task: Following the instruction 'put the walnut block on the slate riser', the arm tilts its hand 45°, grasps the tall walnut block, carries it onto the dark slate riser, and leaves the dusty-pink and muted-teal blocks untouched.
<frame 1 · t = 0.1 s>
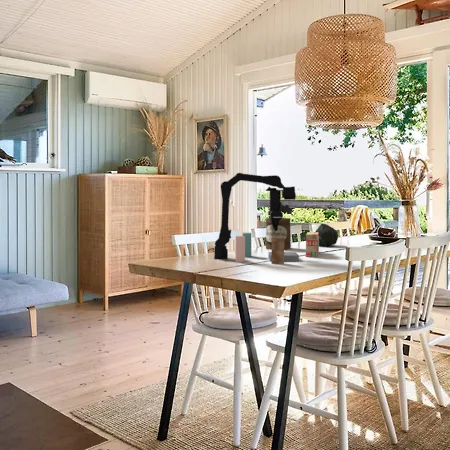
hand: (275, 230, 282), 15 cm above the table, tool pointing down, fingers open, 9 cm apart
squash: (325, 246, 341), on the table
muted teal block: (246, 256, 291), on the table
slate riser: (283, 259, 278), on the table
wooden container: (278, 248, 328), on the table
walnut block: (277, 263, 264), on the table
dusty pink block: (240, 261, 272), on the table
stack of blocks: (312, 255, 298), on the table
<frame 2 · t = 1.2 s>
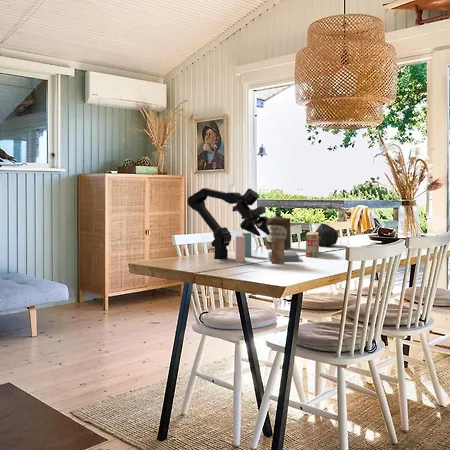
hand: (264, 235, 268), 13 cm above the table, tool tilted 45°, fingers open, 9 cm apart
nothing on the table moved.
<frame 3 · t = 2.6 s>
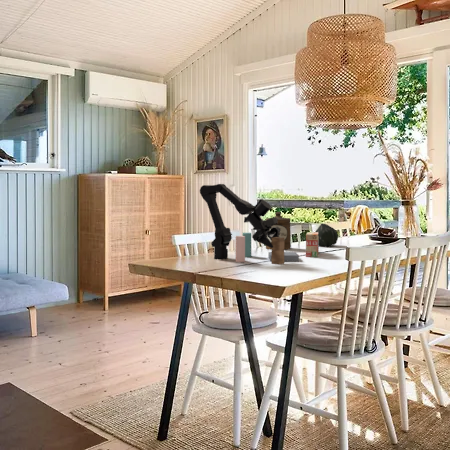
hand: (277, 246, 264), 8 cm above the table, tool tilted 45°, fingers open, 9 cm apart
nothing on the table moved.
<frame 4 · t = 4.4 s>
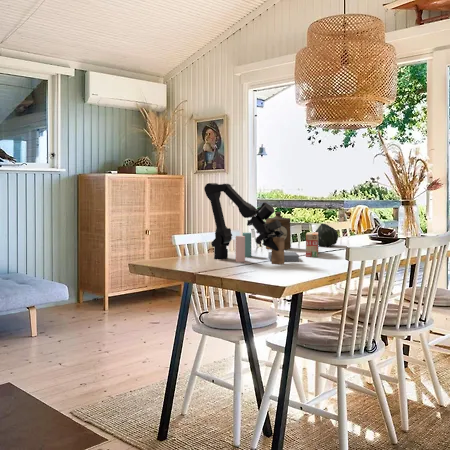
hand: (280, 250, 263), 7 cm above the table, tool tilted 45°, fingers closed on walnut block, 4 cm apart
walnut block: (277, 263, 264), on the table, touching gripper
everything else where it was.
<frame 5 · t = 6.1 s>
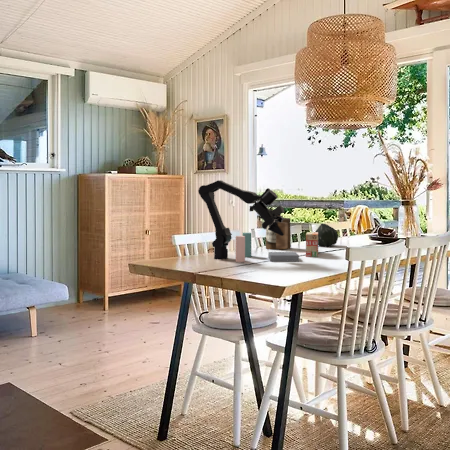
hand: (284, 234, 269), 13 cm above the table, tool tilted 45°, fingers closed on walnut block, 4 cm apart
walnut block: (281, 248, 270), point 7 cm above the table, touching gripper
everything else where it was.
when the fingers open (11 cm above the table, at t = 8.0 s): walnut block drops 1 cm, resting on slate riser.
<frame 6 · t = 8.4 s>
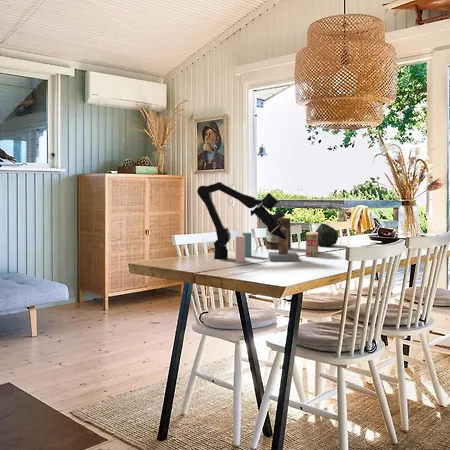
hand: (286, 237, 277), 11 cm above the table, tool tilted 45°, fingers open, 9 cm apart
walnut block: (283, 253, 278), point 3 cm above the table, touching slate riser
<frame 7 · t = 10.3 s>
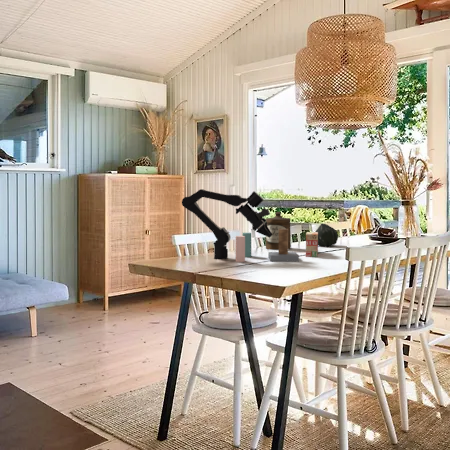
hand: (271, 236, 279), 12 cm above the table, tool tilted 45°, fingers open, 9 cm apart
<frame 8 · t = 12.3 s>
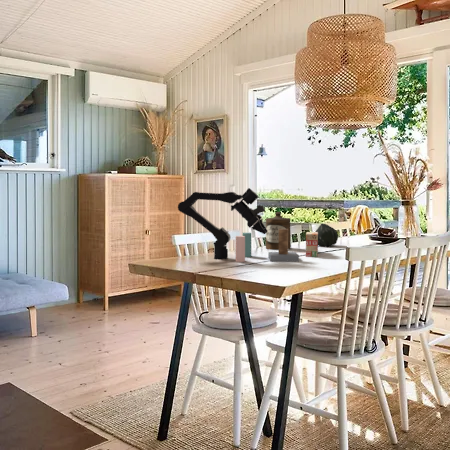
hand: (266, 232, 279), 14 cm above the table, tool tilted 45°, fingers open, 9 cm apart
at the end: walnut block inside the target area on the slate riser (0.0 cm from its centre), point 3.0 cm above the slate riser's base; dusty pink block moved 0.0 cm from its start; muted teal block moved 0.0 cm from its start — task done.
